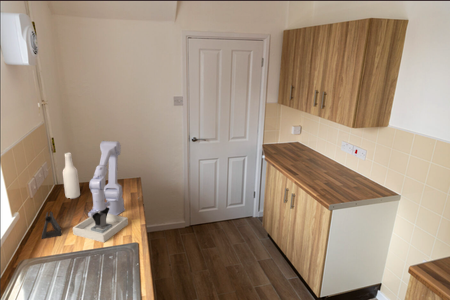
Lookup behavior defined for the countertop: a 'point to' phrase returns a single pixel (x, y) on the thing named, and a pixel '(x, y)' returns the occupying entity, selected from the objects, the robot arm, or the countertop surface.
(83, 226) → the box
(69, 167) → the alcohol
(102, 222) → the grey rectangular block
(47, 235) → the phone stand
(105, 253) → the countertop surface
